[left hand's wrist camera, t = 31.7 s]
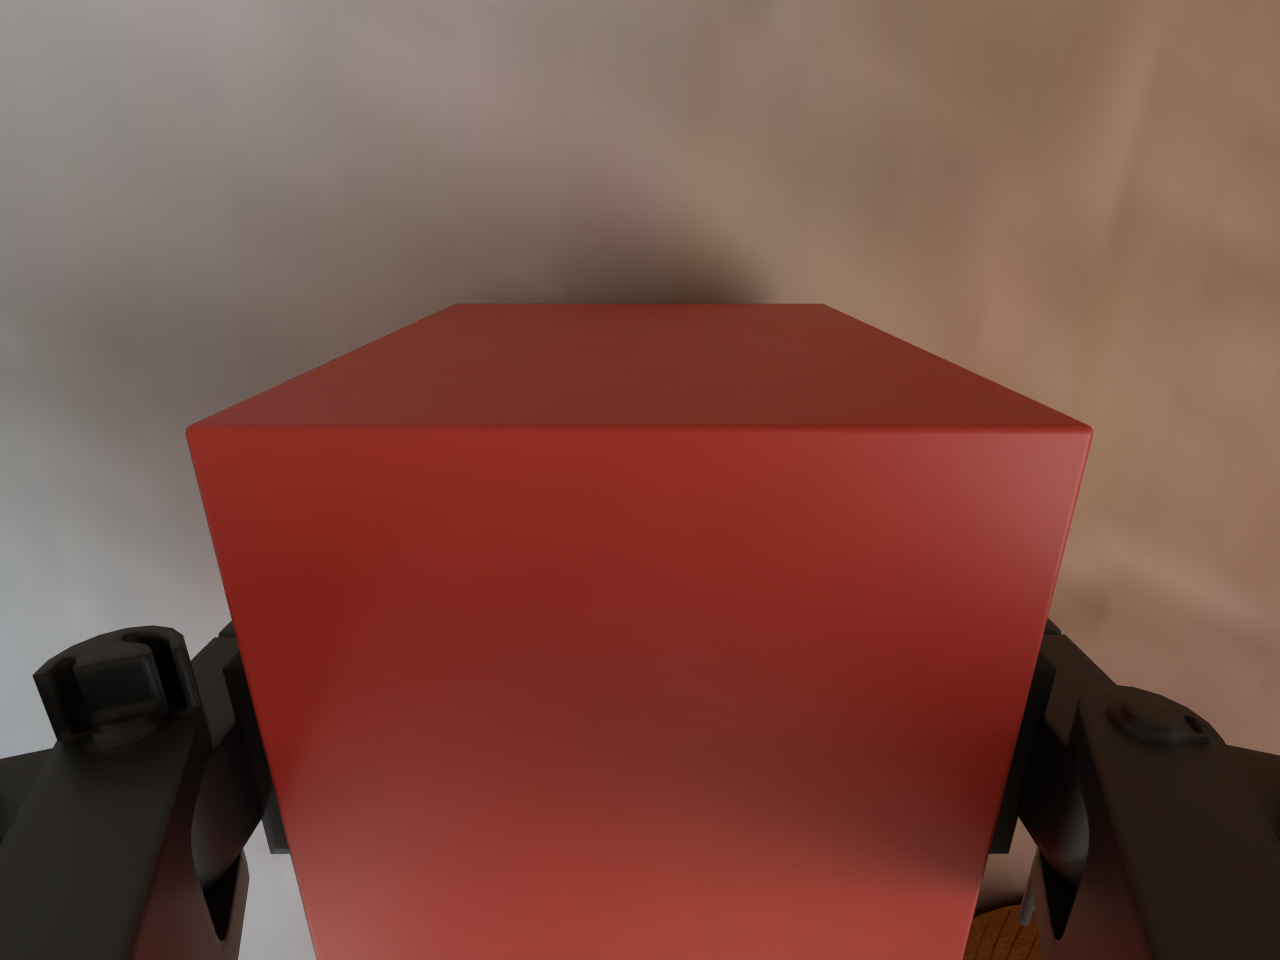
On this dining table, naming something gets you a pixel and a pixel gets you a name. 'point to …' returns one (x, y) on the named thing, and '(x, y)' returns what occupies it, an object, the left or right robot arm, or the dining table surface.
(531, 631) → the brick
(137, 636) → the left robot arm
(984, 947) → the disposable coffee cup
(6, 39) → the dining table surface
